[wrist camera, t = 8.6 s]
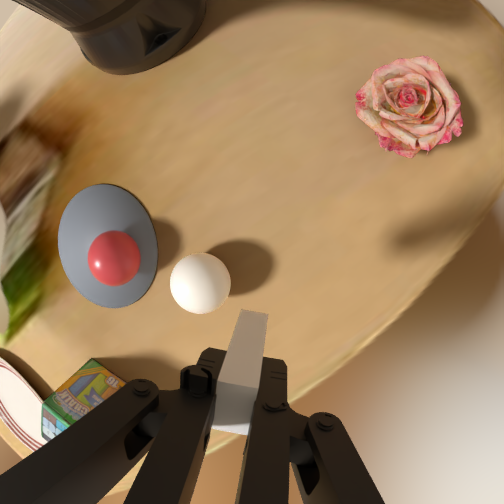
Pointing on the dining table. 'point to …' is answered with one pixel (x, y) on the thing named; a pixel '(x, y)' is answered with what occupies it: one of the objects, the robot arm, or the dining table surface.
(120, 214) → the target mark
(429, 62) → the flower
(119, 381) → the chalk box
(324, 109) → the dining table surface
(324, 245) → the dining table surface
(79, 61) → the dining table surface
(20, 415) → the dinner plate
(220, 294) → the cue ball
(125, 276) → the red ball
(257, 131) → the dining table surface
